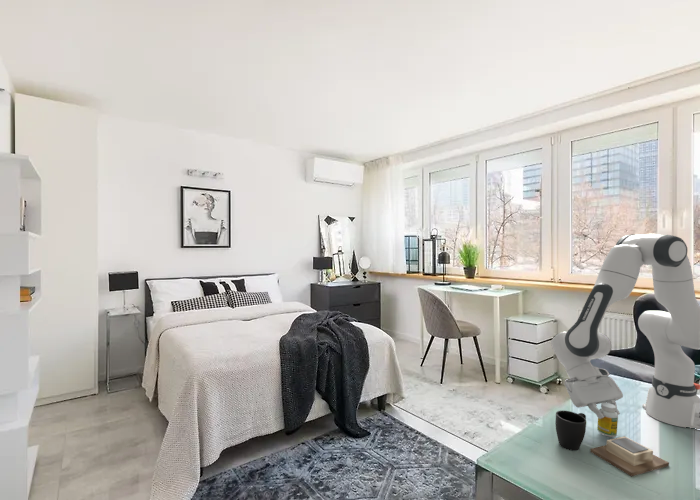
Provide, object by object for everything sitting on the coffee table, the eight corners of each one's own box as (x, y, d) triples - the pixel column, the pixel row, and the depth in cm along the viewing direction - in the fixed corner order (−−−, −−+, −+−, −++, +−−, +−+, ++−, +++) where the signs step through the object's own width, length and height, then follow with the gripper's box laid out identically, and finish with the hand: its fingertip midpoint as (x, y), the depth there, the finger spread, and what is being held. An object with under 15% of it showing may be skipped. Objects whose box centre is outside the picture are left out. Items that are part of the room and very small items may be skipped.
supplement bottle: (601, 427, 127) (603, 400, 126) (619, 434, 122) (621, 406, 122) (594, 431, 124) (595, 403, 123) (612, 439, 119) (614, 410, 119)
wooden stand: (625, 443, 119) (626, 430, 119) (668, 465, 108) (669, 451, 107) (590, 451, 113) (591, 438, 113) (631, 476, 102) (632, 461, 102)
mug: (596, 446, 116) (598, 417, 116) (574, 456, 111) (576, 425, 110) (570, 433, 124) (572, 406, 123) (548, 442, 118) (550, 413, 117)
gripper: (568, 375, 125) (594, 417, 116) (610, 369, 132) (638, 408, 123) (556, 383, 129) (580, 424, 121) (597, 377, 136) (623, 415, 128)
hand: (609, 416), depth 122 cm, fingers closed on supplement bottle, 5 cm apart
